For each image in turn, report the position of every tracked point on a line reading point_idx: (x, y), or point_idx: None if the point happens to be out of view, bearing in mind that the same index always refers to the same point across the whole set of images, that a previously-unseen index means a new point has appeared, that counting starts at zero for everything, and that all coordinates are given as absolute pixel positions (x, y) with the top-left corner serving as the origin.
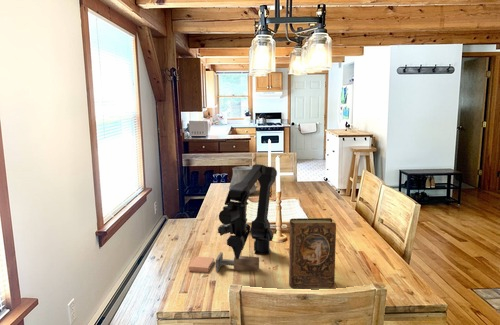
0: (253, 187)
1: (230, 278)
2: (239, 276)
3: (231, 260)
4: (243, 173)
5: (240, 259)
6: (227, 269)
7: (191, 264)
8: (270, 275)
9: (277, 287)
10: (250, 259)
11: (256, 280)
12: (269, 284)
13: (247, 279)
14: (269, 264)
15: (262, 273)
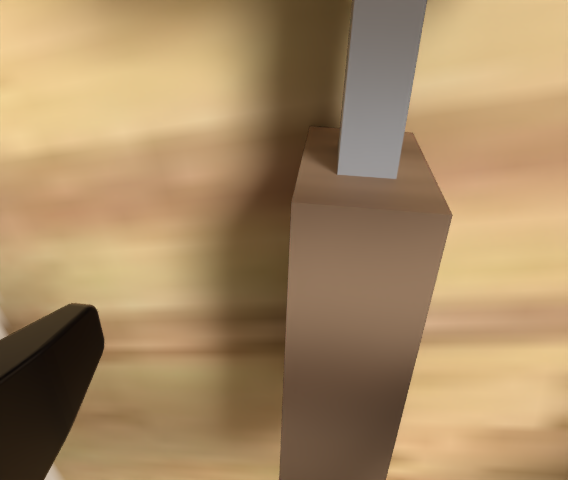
0: None
1: (53, 115)
2: (139, 217)
3: (365, 112)
4: None
5: (289, 312)
6: (316, 14)
7: None
8: (232, 455)
9: (59, 475)
10: (282, 443)
11: (110, 366)
12: (80, 441)
13: (100, 298)
14: (464, 463)
15: (259, 409)
